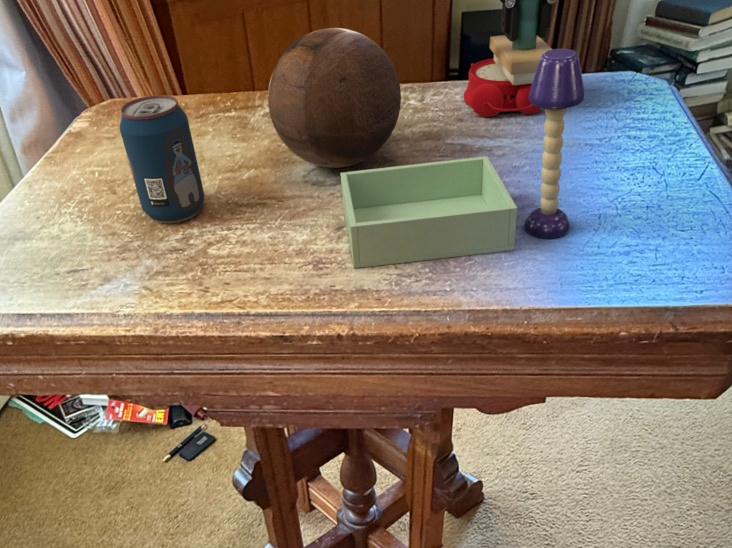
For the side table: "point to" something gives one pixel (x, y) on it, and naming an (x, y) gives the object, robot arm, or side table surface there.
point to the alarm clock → (495, 91)
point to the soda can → (162, 158)
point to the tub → (427, 212)
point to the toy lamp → (553, 134)
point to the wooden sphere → (334, 97)
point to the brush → (521, 46)
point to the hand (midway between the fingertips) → (524, 35)
